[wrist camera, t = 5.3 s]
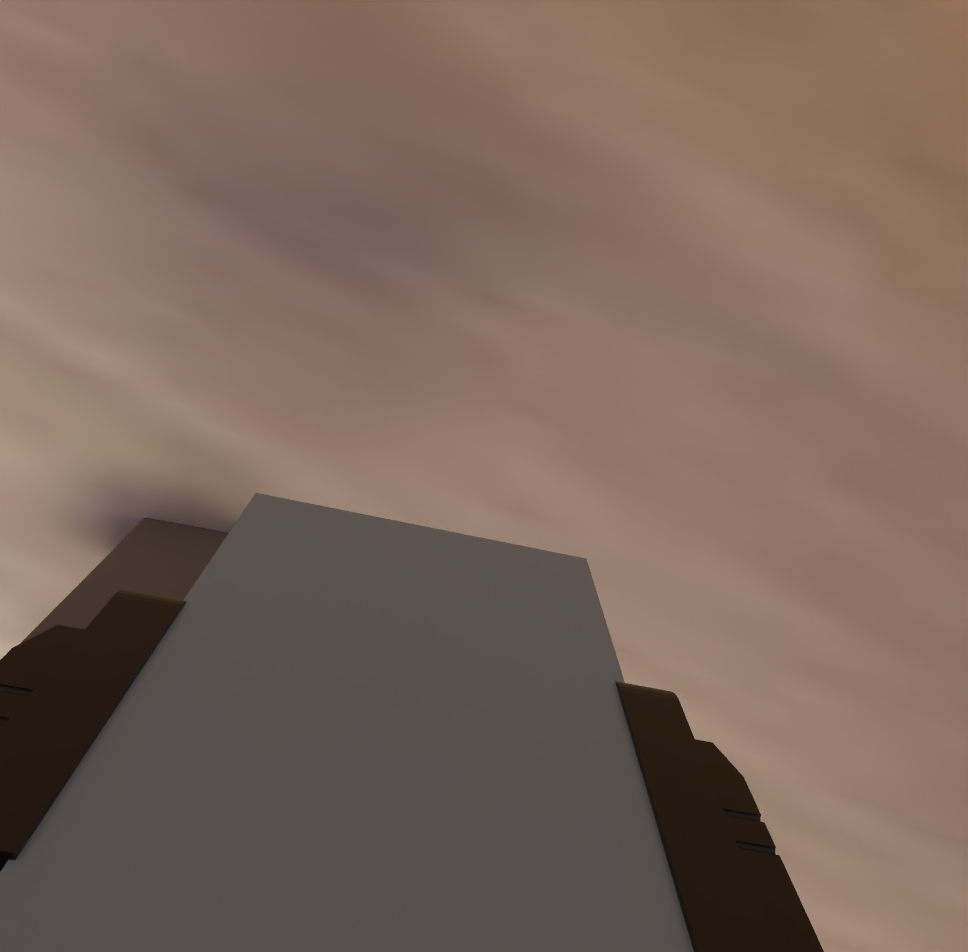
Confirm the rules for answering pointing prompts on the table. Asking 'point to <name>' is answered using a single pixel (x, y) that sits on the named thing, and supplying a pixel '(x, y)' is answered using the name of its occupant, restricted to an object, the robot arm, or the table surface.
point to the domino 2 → (359, 762)
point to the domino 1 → (139, 570)
